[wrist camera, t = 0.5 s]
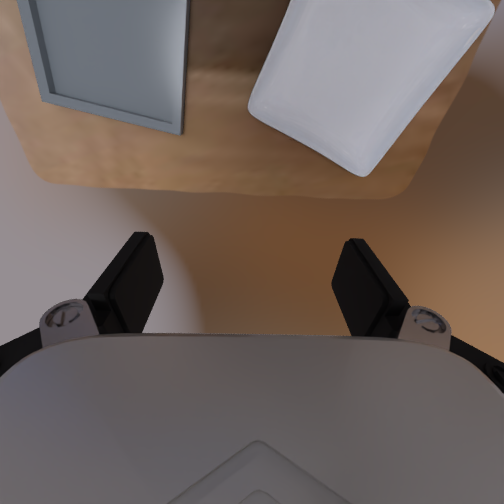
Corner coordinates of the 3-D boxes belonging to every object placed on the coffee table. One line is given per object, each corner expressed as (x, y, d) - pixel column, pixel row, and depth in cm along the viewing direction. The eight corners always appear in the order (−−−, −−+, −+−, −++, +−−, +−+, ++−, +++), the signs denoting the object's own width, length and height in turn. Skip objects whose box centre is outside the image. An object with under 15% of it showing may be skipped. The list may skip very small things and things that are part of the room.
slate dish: (0, -122, 22) (-18, -137, 20) (193, -51, 24) (189, -60, 23) (51, 100, 32) (41, 101, 31) (183, 133, 35) (180, 135, 33)
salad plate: (244, 110, 33) (243, 112, 31) (336, -122, 22) (349, -152, 19) (357, 174, 39) (366, 181, 36) (476, 15, 28) (501, 7, 25)
